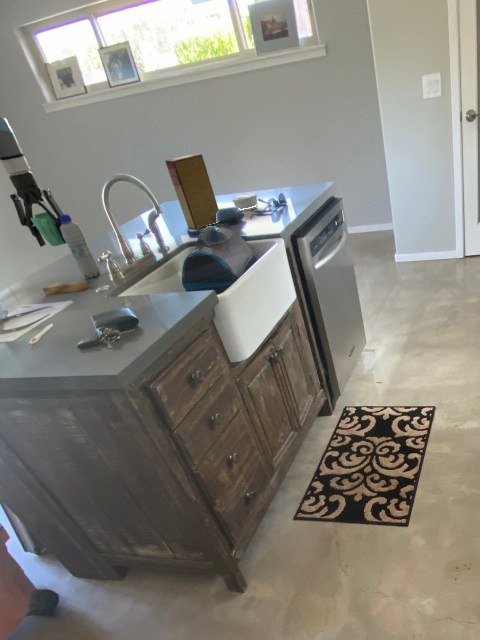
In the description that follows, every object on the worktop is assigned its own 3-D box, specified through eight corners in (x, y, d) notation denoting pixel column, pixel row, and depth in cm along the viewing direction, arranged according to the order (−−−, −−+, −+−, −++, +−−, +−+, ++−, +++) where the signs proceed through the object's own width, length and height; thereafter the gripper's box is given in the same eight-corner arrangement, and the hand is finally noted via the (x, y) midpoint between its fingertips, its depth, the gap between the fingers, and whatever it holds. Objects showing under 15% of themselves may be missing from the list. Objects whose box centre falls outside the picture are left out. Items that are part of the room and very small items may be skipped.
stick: (46, 295, 176) (42, 288, 174) (50, 292, 178) (46, 285, 176) (84, 290, 174) (81, 283, 173) (88, 287, 177) (85, 279, 175)
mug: (45, 244, 197) (31, 214, 191) (72, 238, 199) (59, 209, 193) (42, 252, 187) (26, 221, 180) (71, 246, 189) (56, 216, 182)
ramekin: (237, 214, 235) (233, 200, 232) (234, 209, 243) (230, 196, 240) (261, 208, 237) (257, 195, 233) (257, 204, 245) (254, 192, 241)
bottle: (99, 277, 184) (70, 215, 170) (81, 280, 184) (50, 218, 170) (104, 271, 189) (76, 210, 175) (86, 275, 189) (56, 213, 175)
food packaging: (213, 219, 232) (193, 153, 216) (223, 221, 227) (203, 153, 210) (186, 227, 227) (163, 160, 210) (196, 230, 221) (173, 160, 204)
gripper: (54, 167, 180) (86, 237, 195) (-3, 175, 181) (33, 244, 196) (43, 170, 174) (77, 243, 189) (-16, 179, 176) (22, 250, 191)
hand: (55, 243), depth 193 cm, fingers closed on mug, 9 cm apart
